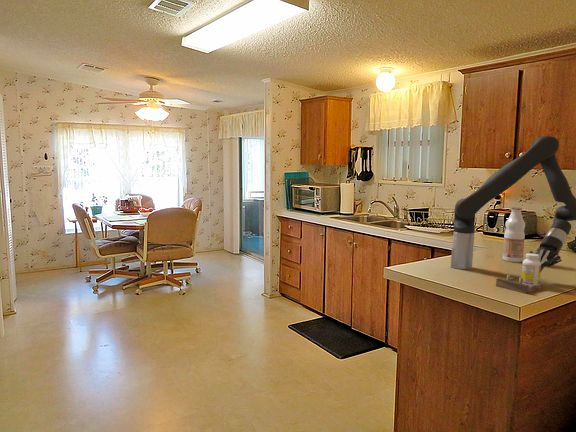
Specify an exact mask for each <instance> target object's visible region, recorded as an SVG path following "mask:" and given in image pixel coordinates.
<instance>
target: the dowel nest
mask: <svg viewBox="0 0 576 432" xmlns="http://www.w3.org/2000/svg"><path fill="white" fill-rule="evenodd" d="M518 278H519V279H518V282H517V281H515V280H516V278H515V277H511V274H507V275H506V278H501V277H498V278H496V279H495V280H496V281H495V286H496V287H499V288H503V289H507V290H511V291H514V292H518V293H521V292H522V294H525V293H526V294H529V293H533V292H535V291H541V290H542V288H543V284H542V283H540V284H536V285H532V286H529V285H526V284H522V283H523V278H521V277H518Z"/></svg>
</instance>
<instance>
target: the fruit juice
mask: <svg viewBox="0 0 576 432" xmlns="http://www.w3.org/2000/svg"><path fill="white" fill-rule="evenodd" d="M522 210H523V208H522V207H519V206H517V207H516V206H513V207H512V206H511V208H510V211H511V212H510V215H509V217H508V219H506V221H505V224H504V225H505V231H504V235H503V236H504V237H503V247H502V261H506V262H510V263H521V262H522V263H523V260H524V251H525V240H526V239H525V237H526V235H525V229H526V228H525V227H526V222H525V220H524V218H523V214H522Z"/></svg>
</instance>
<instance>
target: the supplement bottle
mask: <svg viewBox="0 0 576 432" xmlns="http://www.w3.org/2000/svg"><path fill="white" fill-rule="evenodd" d="M538 258H539V255H538V254H531V253H530V252H529V253H525V258H524V259H523V260H522V266H521V269H522V270H521V277H520V278H523V283H522V284H526V285H529V286H532V285H536V284H541V283H540V280H541V273H540V271H541V262H540V261H538Z"/></svg>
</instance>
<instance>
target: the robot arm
mask: <svg viewBox="0 0 576 432" xmlns="http://www.w3.org/2000/svg"><path fill="white" fill-rule="evenodd" d="M559 147H560V143H559V140H558V138H556V137H554V136H551V135H542V136H540V137H537V138H536V139H535V140H534V141H533V142H532V144H531V147H530V148H528V149H527V150H526V151H525V152H524V153H523V154H522V155H520V156H518V157H516V158H515V159H513V160H511V161H510V162H508V163H507V164H505V165H503V166H501V167H500V168H499V169H498V170H496V171H495V172H494V173H492V175H490V176H489V177H488V178H487V179H485V181H484V182H483V184H482V185H481V186H479V188H478V189H477V190H475V191H474V192H472V193H471V194H470V195H468V196H467V197H465V198H461V199H459V200H458V201H456V203H455V204H454V205H455V206H454V214H453V215H454V217H453V235H452V236H453V237H452V247H451V255H450V256H451V258H450V260H451V261H450V268H455V269H458V270H472V269H473V261H474V259H473V257H474V245H475V244H474V243H475V242H474V241H475V229H476V227H475V222H476V214H477V213H478V212H479V211H480V210H481V209H483V207H484V206H485V205H487V204H488V203H489V202H490V201H492V200H493V199H495V198H497V197H499V196H500V195H501V194H503V193H504V192H505V191H507V190H509V189H510V188H511V187H513V185H515V184H517V183H518V182H519V181H520V180H521V179H522V178H523V177H525V176H526V175H527V174H528V173H529V172H530V171H531V170H533V169H534V168H535V167H536V166H538V165H539V164H540V166H541V168H542V171H543V173H544V175H545V177H546V180H547V183H548V186H549V189H550V191H551V193H552V196H553V199H554V200H555V202H557V203H563V204H564V205H561V206H559V207H557V208H556V210H555V211H554V214H553V215H554V216H553V223H552V225H551V226H550V228H549V229H548V231H547V232H546V233H545V236H544V237H543V239H542V241H541V242H540V244H539V247H538V248H537V249H536V250H534V251H533V250H530V251H529V253H531V254H538V255H539V258H538V261H540V262H541V271H540V274H541V273H542V272H543V270H544V268H546V267H547V268H550V267H552V266H555V265H556V264H558V263H561V262H562V257H561V256H560V255H559V253H560V252H561V250H562V248H563V247H564V245H565V243H566V240H567V237H568V236H569V234H570V231H571V230H572V224H571V223H570V222H573V221H576V196H575V195H574V194H573V192H572V189H571V187H570V184H569V182H568V179H567V177H566V176H565V174H564V173H563V171H562V168H561V167H560V165H559V163H558V160H557V158H556V153H557V152H558V150H559Z"/></svg>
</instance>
